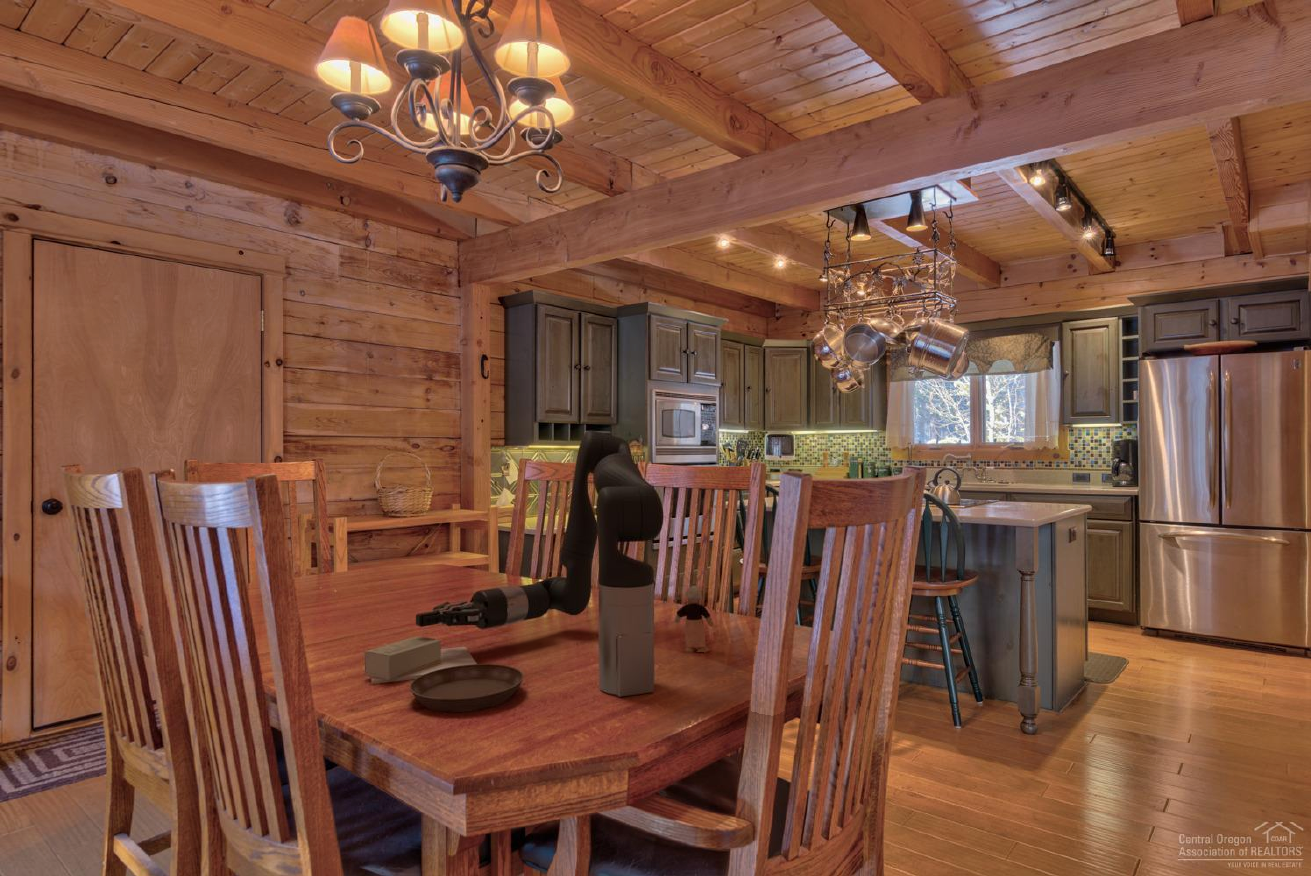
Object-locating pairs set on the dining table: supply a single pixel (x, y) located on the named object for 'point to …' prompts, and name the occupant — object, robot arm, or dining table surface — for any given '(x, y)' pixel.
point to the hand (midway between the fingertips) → (417, 620)
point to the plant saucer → (466, 687)
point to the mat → (448, 659)
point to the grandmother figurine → (694, 620)
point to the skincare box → (402, 657)
